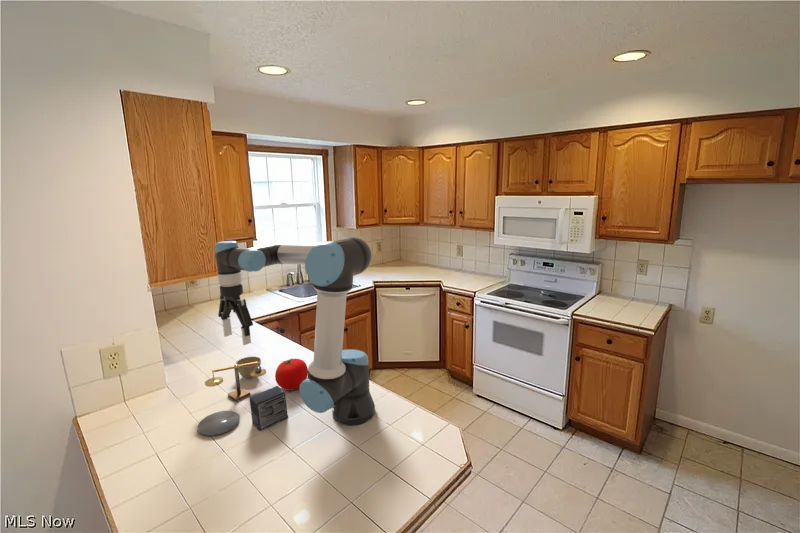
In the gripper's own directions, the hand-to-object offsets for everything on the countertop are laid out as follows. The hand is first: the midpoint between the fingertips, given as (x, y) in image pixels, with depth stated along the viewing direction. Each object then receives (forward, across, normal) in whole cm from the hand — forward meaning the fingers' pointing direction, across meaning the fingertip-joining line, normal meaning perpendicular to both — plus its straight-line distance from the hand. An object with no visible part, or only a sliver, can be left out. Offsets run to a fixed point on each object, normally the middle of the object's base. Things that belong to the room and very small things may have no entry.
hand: (237, 339), depth 141 cm
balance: (+24, +4, 0) cm, 25 cm away
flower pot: (+25, +15, -11) cm, 31 cm away
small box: (+25, -20, +2) cm, 32 cm away
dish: (+25, -8, +14) cm, 29 cm away
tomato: (+25, -7, -17) cm, 31 cm away
